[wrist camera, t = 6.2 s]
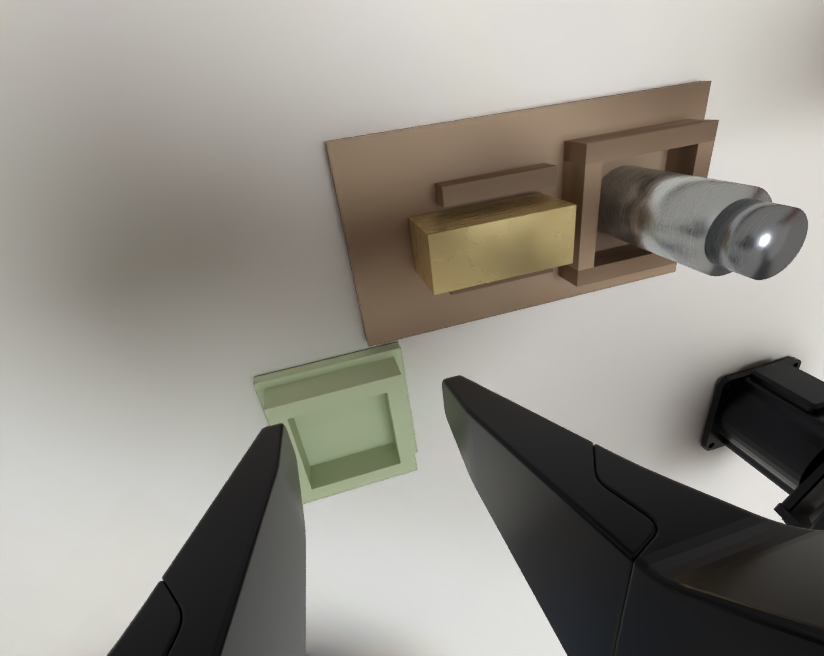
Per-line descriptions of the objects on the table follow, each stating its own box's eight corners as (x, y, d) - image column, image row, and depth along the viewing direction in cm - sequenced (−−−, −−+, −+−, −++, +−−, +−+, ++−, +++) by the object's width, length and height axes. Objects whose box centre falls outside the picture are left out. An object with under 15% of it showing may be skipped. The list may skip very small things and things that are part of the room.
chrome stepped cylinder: (644, 227, 21) (800, 279, 15) (587, 240, 21) (722, 300, 14) (654, 159, 20) (832, 185, 13) (592, 171, 19) (747, 204, 13)
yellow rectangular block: (538, 244, 20) (572, 263, 18) (415, 271, 19) (434, 295, 17) (539, 191, 19) (576, 204, 16) (408, 217, 18) (427, 235, 15)
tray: (414, 444, 25) (425, 472, 23) (293, 480, 24) (293, 512, 22) (397, 342, 21) (408, 364, 19) (254, 377, 20) (251, 405, 18)
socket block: (666, 267, 24) (700, 281, 22) (366, 340, 21) (374, 363, 19) (699, 81, 19) (745, 78, 17) (325, 141, 16) (330, 145, 15)
